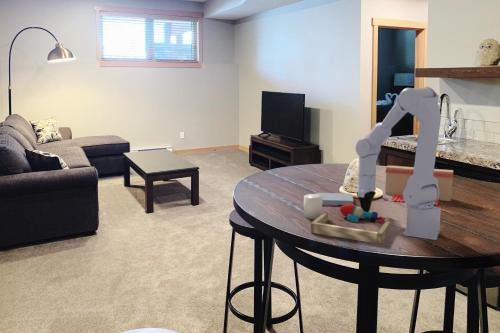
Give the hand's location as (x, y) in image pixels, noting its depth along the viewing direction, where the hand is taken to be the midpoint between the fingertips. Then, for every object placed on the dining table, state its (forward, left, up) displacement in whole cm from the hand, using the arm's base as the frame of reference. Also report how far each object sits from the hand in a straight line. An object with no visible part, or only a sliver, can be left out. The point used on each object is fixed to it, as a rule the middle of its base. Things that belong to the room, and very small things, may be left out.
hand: (365, 212), depth 151 cm
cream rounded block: (+16, +9, -1) cm, 18 cm away
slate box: (+15, -11, -2) cm, 19 cm away
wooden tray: (0, +18, -1) cm, 18 cm away
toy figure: (0, +5, -2) cm, 5 cm away
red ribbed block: (-12, -28, -1) cm, 31 cm away
